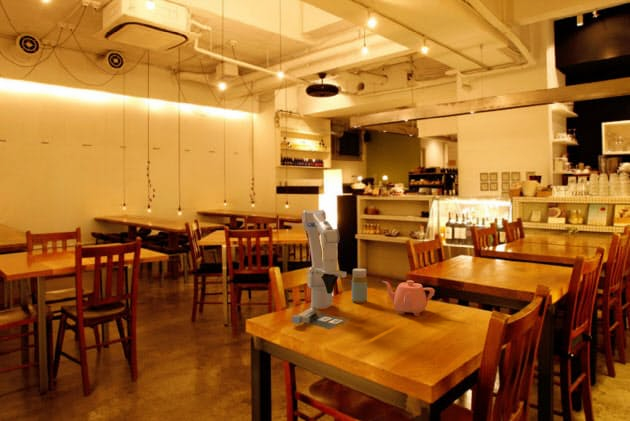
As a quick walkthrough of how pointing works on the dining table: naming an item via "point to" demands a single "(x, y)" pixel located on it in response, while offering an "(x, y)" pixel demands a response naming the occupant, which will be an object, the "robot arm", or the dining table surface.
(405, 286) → the teapot
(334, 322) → the label
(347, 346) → the dining table surface
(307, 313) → the swing arm
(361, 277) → the bottle
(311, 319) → the plate
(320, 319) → the label
